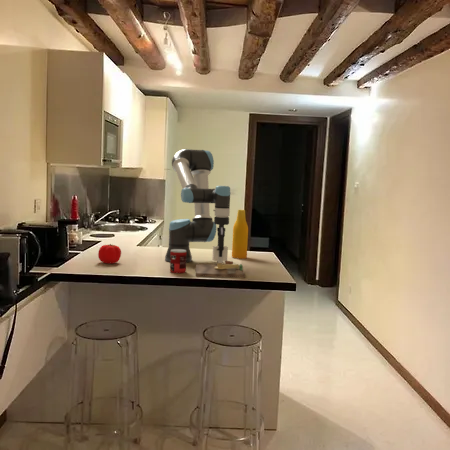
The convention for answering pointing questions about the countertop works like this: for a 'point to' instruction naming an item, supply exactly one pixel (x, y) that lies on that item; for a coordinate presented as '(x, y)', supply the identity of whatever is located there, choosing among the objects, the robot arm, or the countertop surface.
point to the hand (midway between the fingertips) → (219, 262)
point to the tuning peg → (225, 253)
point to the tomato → (109, 254)
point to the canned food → (178, 261)
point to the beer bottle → (240, 236)
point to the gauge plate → (219, 271)
